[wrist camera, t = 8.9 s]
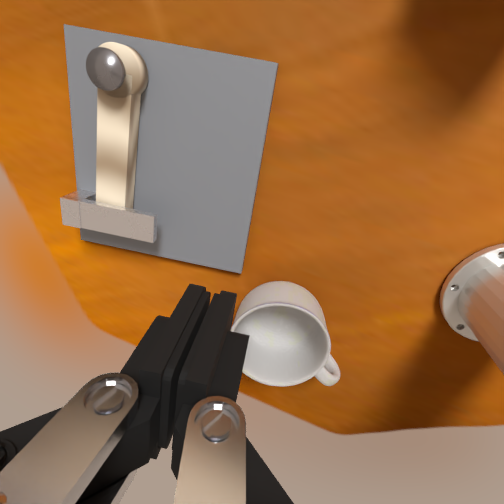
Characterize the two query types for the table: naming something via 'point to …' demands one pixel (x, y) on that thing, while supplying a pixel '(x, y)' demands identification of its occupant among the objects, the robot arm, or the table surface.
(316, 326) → the teacup
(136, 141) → the link
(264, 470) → the robot arm
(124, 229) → the keeper
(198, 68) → the slate board
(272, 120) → the table surface
